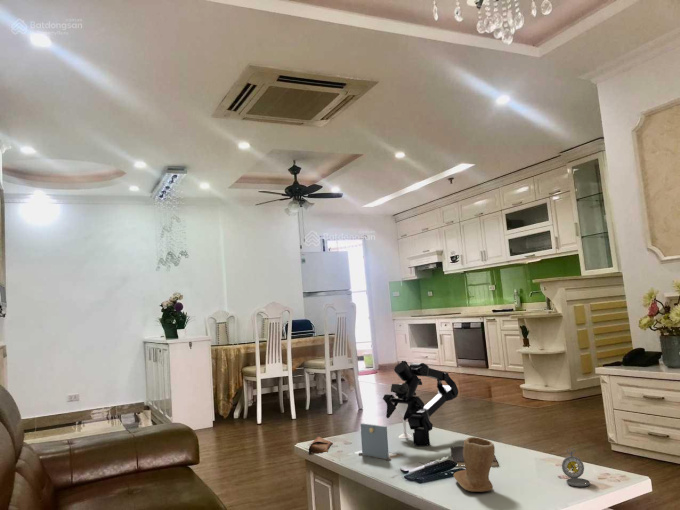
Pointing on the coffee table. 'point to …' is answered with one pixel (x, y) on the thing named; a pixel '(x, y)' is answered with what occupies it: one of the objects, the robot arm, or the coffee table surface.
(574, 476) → the pocket watch
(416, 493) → the coffee table surface
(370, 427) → the door
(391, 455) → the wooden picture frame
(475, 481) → the tan boot
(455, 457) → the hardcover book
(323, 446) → the sunglasses case
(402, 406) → the champagne flute
